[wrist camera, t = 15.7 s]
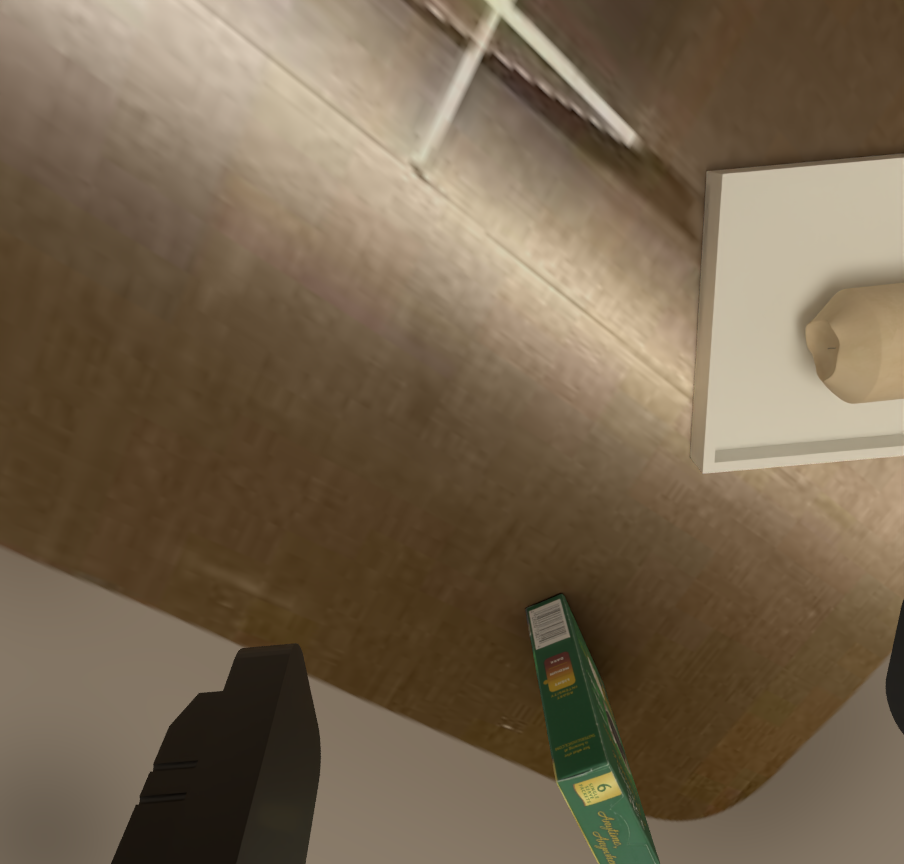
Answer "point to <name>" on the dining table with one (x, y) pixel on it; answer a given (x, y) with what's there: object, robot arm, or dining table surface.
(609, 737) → the coffee box
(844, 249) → the tray
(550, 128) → the dining table surface
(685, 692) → the dining table surface
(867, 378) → the candle
